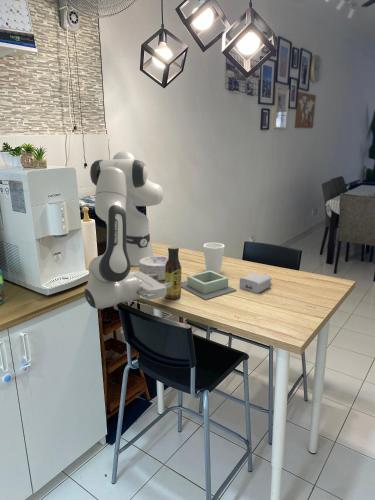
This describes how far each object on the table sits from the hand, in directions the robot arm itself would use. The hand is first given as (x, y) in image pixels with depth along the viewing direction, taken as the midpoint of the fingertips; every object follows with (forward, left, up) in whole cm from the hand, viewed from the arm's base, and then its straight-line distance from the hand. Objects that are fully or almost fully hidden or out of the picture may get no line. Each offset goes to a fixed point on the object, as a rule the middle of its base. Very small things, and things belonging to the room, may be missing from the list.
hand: (163, 280), depth 145 cm
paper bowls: (-22, +10, -8) cm, 25 cm away
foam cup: (-12, +34, -8) cm, 37 cm away
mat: (0, +20, -8) cm, 22 cm away
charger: (+11, +40, -8) cm, 42 cm away
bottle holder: (0, +21, -8) cm, 22 cm away
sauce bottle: (0, +4, -8) cm, 9 cm away
